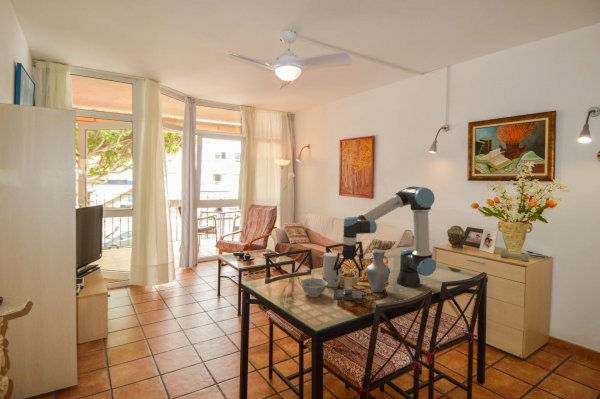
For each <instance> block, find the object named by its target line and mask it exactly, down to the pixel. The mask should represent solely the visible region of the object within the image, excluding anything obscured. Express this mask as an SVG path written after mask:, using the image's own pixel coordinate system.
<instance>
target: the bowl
mask: <svg viewBox="0 0 600 399" xmlns="http://www.w3.org/2000/svg"><path fill="white" fill-rule="evenodd" d="M299 283H300V286H301V288H302V291H303V292H305V294H307V296H308V297H311V298H317V297H320V295H321V294H323V293H324V292H325V290H326V289H327V284H328V283H327V281H325V280H323V278H319V277H316V278H314V277H313V278H312V277H311V278H310V277H309V278H304V279H302V280H301V281H300V282H299Z"/></svg>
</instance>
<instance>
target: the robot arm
mask: <svg viewBox="0 0 600 399" xmlns="http://www.w3.org/2000/svg"><path fill="white" fill-rule="evenodd" d="M435 198H436V197H435V194H434V192H433V191H432V190H431V189H430V188H428V187H424V186H408V187H404V188H403V189H401V190H399V191H398V192H396V193H394V194H393V195H392V197H391V198H388V199H387V200H385V201H382V202H381V203H380V204H377V205H376V206H374V207H372V208H370V209H368V210H366V211H365V212H363V213H362V214H360V215H358V216H348V217H346V216H345V217H344V219H343V236H342V237H343V238H342V243H343V244H342V252H340V251H337V259H336V262H335V265H334V269H336V270H337V275H338V283H340V274H341V267H342V265H343V264H344V262H345V261H353V263H354V265H355V266H356V268H357V270H356V275H357V284H359V278H361V276H362V275H361V273H362V272H364V270H365V269H364V265H363V261H362V253H358V252H357V236H358V234H360V235H361V234H363V235H364V234H369V235H370V234H376V232H377V229H378V224H377V222H376V221H377V220H379V219H380V218H382V217H384V216H386V215H388V214H389V213H391V212H393V211H395V210H397V209H399V208H403V207H405V206H409V207H410V210H411V212H413V213H412V214H413V238H414V239H413V240H414V243H413V244H414V248H403V249H401V251H400V260H399V261H400V262H399V273H398V275H397V278H396V284H398V285H400V286H402V287H406V288H407V287H408V288H418V287H420V286H421V283H422V282H421V278H420V277H421V276H424V277H429V276H431V275H433V273H434V272H435V271H436V270H437V262H436V260H435V259H434V258H433V253H432V251H431V250H430V225H429V224H430V223H429V212H430V210H432V206H433V205H434V204H435ZM341 255H342V256H343V258H342V259H341V261H340V257H342V256H341ZM356 257H357V258H358V260H359V261H358V262H359V264H358V262H357V260H356ZM338 260H339V265H338V267H336V266H337V263H338ZM359 265H360V266H359Z"/></svg>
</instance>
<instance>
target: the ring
mask: <svg viewBox="0 0 600 399" xmlns="http://www.w3.org/2000/svg"><path fill="white" fill-rule="evenodd" d="M339 286H342V287H344V286H345V287H352V288H353V287H357V286H358V283H357V273H353V272H342V273H340V282H339Z"/></svg>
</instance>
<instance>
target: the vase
mask: <svg viewBox="0 0 600 399" xmlns="http://www.w3.org/2000/svg"><path fill="white" fill-rule="evenodd" d="M371 252H372V255H373V260H372V262H371V263H370V264H368V265H367V266H366V268H365V273H366V276H367V281H368V284H369V286H370V289H371V291H372V292H374V293H382V292H383V291H384V289H385V288H386V285H387V282H388V280H389V277H390V273H391V270H390V268H389V267H388V266H387V265H386V264H385V262H384V256H385V254H386V250H384V249H376V248H375V249H372V250H371Z"/></svg>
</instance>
